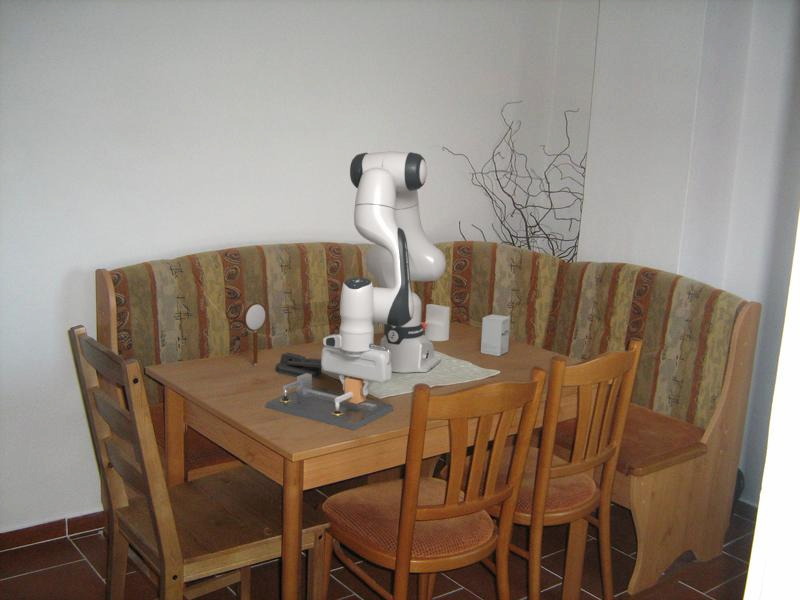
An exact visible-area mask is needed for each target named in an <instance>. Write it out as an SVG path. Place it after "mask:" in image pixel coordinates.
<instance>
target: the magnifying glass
mask: <svg viewBox="0 0 800 600" xmlns="http://www.w3.org/2000/svg"><path fill="white" fill-rule="evenodd" d="M266 320H267V311H266V308H265V307H264V305H262V304H261V303H258V302H255V303H251V304H250V305H249V306H248V307H247V308H246V309H245V311H244V315H243V322H244V326H245V327H246V329H248V330H249V331H253V340H252V341H253V344H252V346H253V347H252V348H253V365H254V366H255V367H257V366H258V365H257V364H258V330H260V329H261V328H262V327H264V325H265V323H266Z"/></svg>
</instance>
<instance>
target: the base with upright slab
mask: <svg viewBox="0 0 800 600" xmlns="http://www.w3.org/2000/svg"><path fill="white" fill-rule="evenodd" d="M425 306H426V309H425V321H424V323H427V324H428V326H427V327H426V328H427V329H424V336H425V337H426V338H427V339H428V340H429V341H430V342H445V341H448V340H450V324H451V323H450V312H451V311H450V309H451V308H450V307H449V306H444V305H438V304H433V303H429V304H426V305H425Z"/></svg>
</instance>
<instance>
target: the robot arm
mask: <svg viewBox="0 0 800 600" xmlns="http://www.w3.org/2000/svg"><path fill="white" fill-rule="evenodd" d="M427 176H428V167H427V163H426V160H425V158H424V157H423V155H421V154H419V153H416V152H411V151H410V152H402V151H389V150H388V151H382V152H381V151H379V152H371V153H368V152H363V153H358V154H356V155H355V156H354V158H352V159H351V163H350V167H349V178H350V181H351V183H352V185H353V186H354V187H355V188H356V189H357V190H356V191H357V192H356V194H355V200H354V202H355V203H354V212H353V222H354V223H353V224H354V227H355V229H356V231H357V233H359V235H360V236H361V237H362V238H364V239H365V240H367V241H369V242H371V243H373V244H372V245H371V246H370V247H369V248H368V250H367V251H366V253H365V258H364V263H365V268H366V269H367V271H368V273H369V274H370V275H371V276H372V277H374V279H375V280H376V281H377V282H378V284H379V286H380V287H376V286H375V287H374V286H373V282H372V280H370V279H369V278H366V277H352V278H351V277H350V278H349V279H345V281H343V283H342V285H341V286H342V287H341V293H340V300H339V301H340V302H339V315H340V319H341V320H340V321H341V322H340V326H339V332H337V333H333V334H330V335H327V336H326V337H323V339H322V344H323V345H324V346H323V347H322V350H321V355H320V359H321V366H322V370H323V371H324V372H328V373H333V374H338V377H339V381H340V382H341V385H342V391H343V392H345V379H346V378H348V377H356V378H361V379H364V383H365V385H364V387H362V388H360V394H361V395H365V396H366V397H367V395H368V394H369V388H370V387H371V386H372V383H373V382H374V383H375V382H376V383H380V384H384V383H386V382H389V381H390V380H391V379H392V377H393V375H392V373H402V374H403V373H404V374H405V373H427V372H429V371H431V370H432V369H433V368H434V367H436V366H437V365H438V364H439V363H441V361H442V359H441V358H440V357H438V356H436V355H434V354H435V353H434V352H435V348H434V344H433V341H431V340H428V339H427V338H426V337H425V331H424V330H425V329H427V328H426V327H427V326H428V324H427V323H425V322H423V321H422V300H421V298H420V297H419V295H418V294H417V293H415V292H414V291H412V282H411V281H414V282H423V283H424V282H432V281H433V282H434V281H438V280H439V279H440V278H441V277H442V276H443V275H444V273H445V271H446V267H447V263H446V261H447V260H446V256H445V254H444V253H443V252H442V250H441V249H440V248H438V247H437V246H436V245H434V244H433V243H432V241H431V240H430V239H429V237H428V236H427V235H426V233H425V231H424V229H423V226H422V222H421V221H422V220H421V213H420V205H419V203H420V202H419V194H418V190H419V189H421V188H422V187H423V186H424V185H425V183H426V179H427ZM373 324H379V325H383V334H384V336H382V338H381V339H380V340H381V341H380V345H378V344H375V343H374V338H375V334H374V333H375V331H374V329H375V328H374V325H373ZM431 368H432V369H431Z"/></svg>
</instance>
